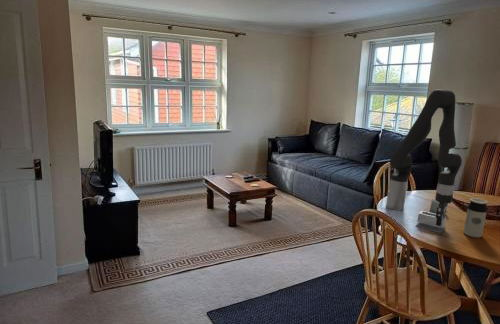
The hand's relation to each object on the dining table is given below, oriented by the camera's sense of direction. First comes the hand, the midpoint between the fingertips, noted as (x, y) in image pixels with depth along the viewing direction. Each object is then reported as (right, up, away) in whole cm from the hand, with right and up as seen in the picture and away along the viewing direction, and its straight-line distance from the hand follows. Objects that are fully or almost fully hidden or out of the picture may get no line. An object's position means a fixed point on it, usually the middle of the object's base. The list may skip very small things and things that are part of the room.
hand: (439, 223), depth 186 cm
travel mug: (+14, -5, -5) cm, 16 cm away
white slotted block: (-3, 0, +3) cm, 4 cm away
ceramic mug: (+11, +2, +25) cm, 27 cm away
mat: (-3, -2, +3) cm, 5 cm away
